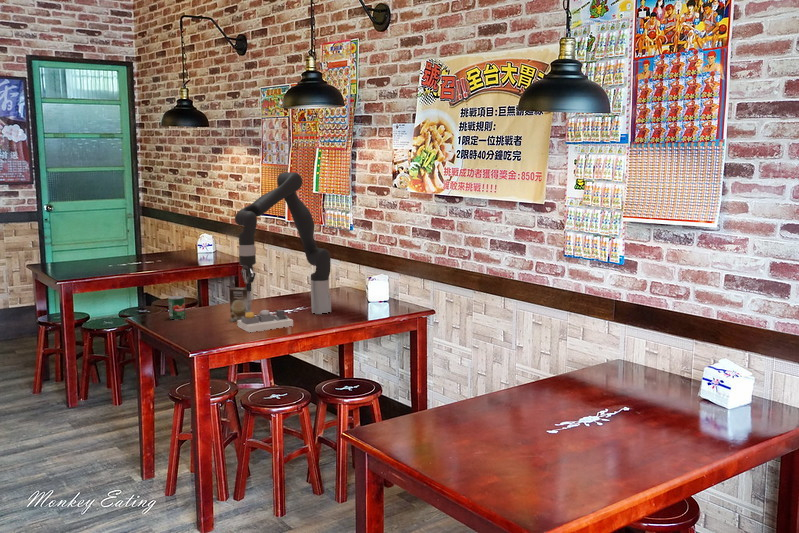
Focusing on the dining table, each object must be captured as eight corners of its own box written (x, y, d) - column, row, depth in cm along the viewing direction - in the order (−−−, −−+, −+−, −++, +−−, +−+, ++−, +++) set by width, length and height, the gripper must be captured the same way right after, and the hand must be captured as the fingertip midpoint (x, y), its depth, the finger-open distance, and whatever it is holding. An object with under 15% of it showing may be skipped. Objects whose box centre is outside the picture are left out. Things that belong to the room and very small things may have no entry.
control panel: (280, 320, 365) (280, 309, 364) (293, 326, 352) (292, 314, 351) (237, 326, 353) (237, 315, 353) (249, 332, 341) (248, 321, 340)
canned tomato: (175, 316, 376) (174, 295, 375) (189, 317, 374) (187, 296, 372) (166, 319, 369) (164, 298, 367) (179, 320, 366) (178, 299, 365)
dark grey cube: (282, 317, 356) (282, 309, 356) (284, 318, 354) (284, 310, 353) (276, 318, 355) (276, 310, 354) (278, 319, 352) (278, 311, 352)
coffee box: (230, 321, 363) (228, 289, 361) (234, 318, 370) (232, 287, 367) (248, 321, 363) (246, 289, 360) (252, 319, 369) (250, 287, 366)
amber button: (252, 317, 351) (252, 311, 350) (255, 319, 348) (255, 313, 347) (244, 318, 349) (244, 312, 348) (247, 320, 346) (247, 314, 345)
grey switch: (267, 315, 355) (267, 309, 354) (270, 317, 352) (270, 311, 351) (259, 316, 353) (259, 310, 352) (262, 318, 349) (262, 312, 349)
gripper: (260, 255, 340) (261, 292, 343) (249, 252, 351) (251, 288, 354) (244, 256, 336) (246, 294, 339) (234, 253, 347) (236, 289, 350)
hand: (248, 291), depth 346 cm, fingers closed
